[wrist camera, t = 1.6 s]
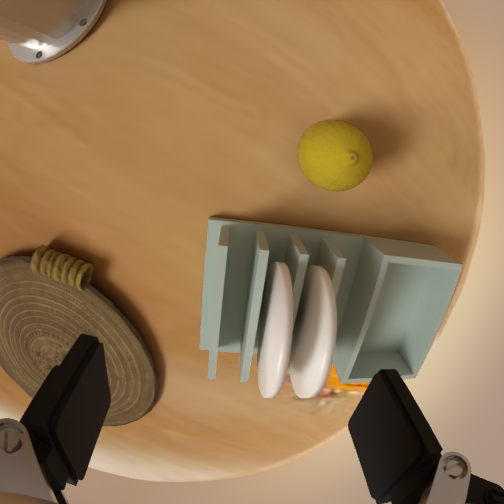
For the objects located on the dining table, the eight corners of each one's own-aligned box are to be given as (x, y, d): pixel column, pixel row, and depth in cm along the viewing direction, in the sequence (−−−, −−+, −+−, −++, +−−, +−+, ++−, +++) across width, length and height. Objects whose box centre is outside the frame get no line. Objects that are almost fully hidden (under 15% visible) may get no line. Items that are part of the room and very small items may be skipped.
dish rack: (209, 216, 28) (191, 271, 16) (434, 245, 30) (505, 294, 18) (200, 343, 32) (188, 430, 21) (397, 350, 34) (439, 416, 23)
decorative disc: (-5, 389, 33) (-44, 222, 23) (3, 377, 37) (-27, 213, 26) (148, 452, 38) (174, 296, 27) (152, 435, 41) (180, 279, 30)
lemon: (360, 149, 26) (403, 155, 18) (324, 195, 27) (355, 216, 20) (315, 109, 25) (346, 99, 17) (276, 156, 26) (293, 163, 18)
